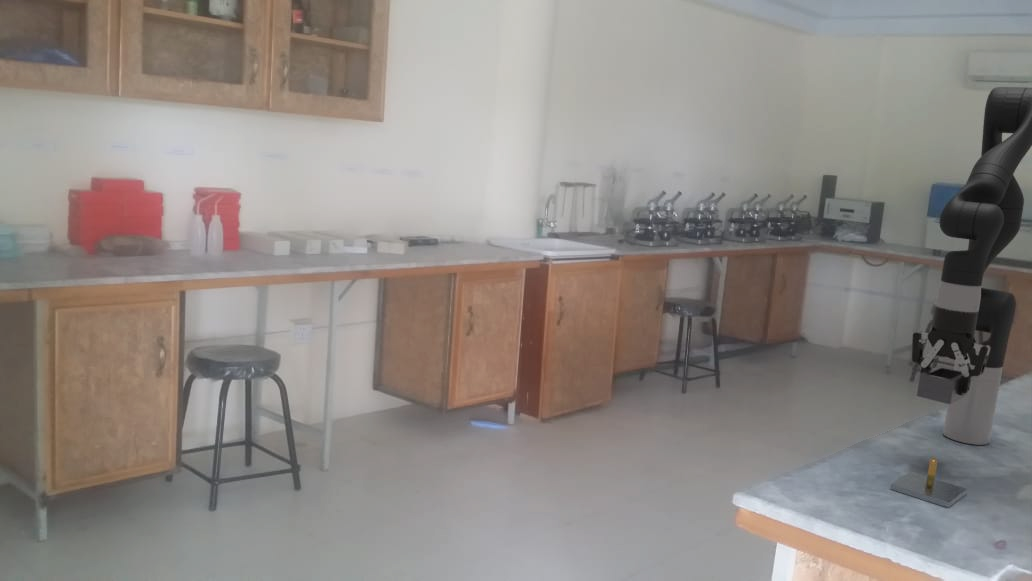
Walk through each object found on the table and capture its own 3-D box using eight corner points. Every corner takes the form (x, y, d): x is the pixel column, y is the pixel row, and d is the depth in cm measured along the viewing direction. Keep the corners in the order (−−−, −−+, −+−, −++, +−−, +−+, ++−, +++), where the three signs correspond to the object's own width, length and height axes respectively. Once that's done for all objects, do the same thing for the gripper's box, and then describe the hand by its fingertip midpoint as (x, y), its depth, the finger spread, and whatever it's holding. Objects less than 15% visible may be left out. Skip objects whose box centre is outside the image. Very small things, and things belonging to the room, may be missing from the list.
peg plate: (910, 476, 168) (915, 446, 167) (966, 494, 162) (972, 462, 161) (890, 489, 161) (895, 457, 160) (948, 507, 154) (954, 475, 153)
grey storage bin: (934, 387, 180) (937, 366, 179) (966, 395, 176) (970, 373, 175) (916, 396, 172) (920, 373, 172) (950, 404, 168) (954, 381, 167)
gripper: (1003, 311, 169) (988, 396, 172) (925, 297, 178) (912, 378, 181) (991, 315, 163) (976, 403, 166) (911, 301, 173) (898, 384, 176)
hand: (942, 389), depth 174 cm, fingers closed on grey storage bin, 6 cm apart
